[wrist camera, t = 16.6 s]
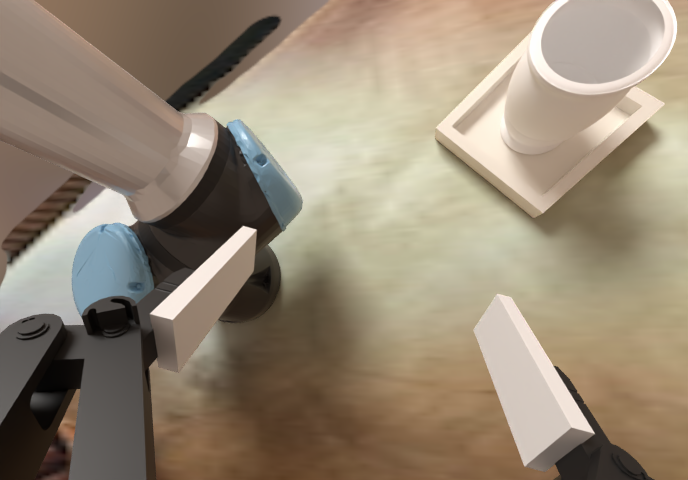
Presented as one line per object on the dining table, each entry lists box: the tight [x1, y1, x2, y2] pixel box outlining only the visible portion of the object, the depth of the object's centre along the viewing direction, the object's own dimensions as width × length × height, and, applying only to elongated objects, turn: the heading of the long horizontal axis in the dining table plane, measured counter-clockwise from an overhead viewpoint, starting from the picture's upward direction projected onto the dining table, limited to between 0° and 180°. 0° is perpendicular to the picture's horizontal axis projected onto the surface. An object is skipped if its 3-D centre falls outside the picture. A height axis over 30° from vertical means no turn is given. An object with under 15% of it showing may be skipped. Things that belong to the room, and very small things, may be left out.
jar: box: [500, 0, 677, 155], centre depth 31 cm, size 11×10×15 cm
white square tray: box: [435, 31, 665, 218], centre depth 37 cm, size 18×18×3 cm
